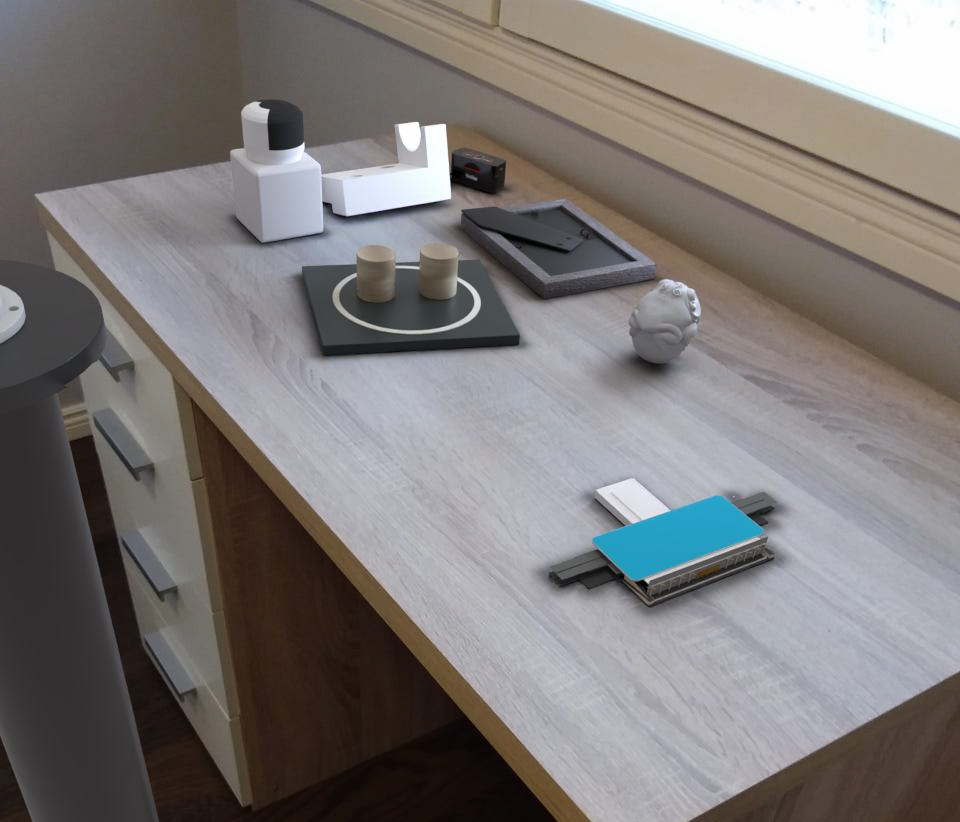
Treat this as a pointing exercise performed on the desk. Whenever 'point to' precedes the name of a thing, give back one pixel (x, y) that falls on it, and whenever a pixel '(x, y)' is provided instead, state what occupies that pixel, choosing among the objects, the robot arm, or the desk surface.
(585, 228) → the picture frame
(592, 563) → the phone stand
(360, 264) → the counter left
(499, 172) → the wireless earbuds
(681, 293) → the frog figurine
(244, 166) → the security camera
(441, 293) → the beige cylinder
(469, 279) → the slate board
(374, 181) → the bracket
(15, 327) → the robot arm
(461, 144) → the desk surface
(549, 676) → the desk surface
